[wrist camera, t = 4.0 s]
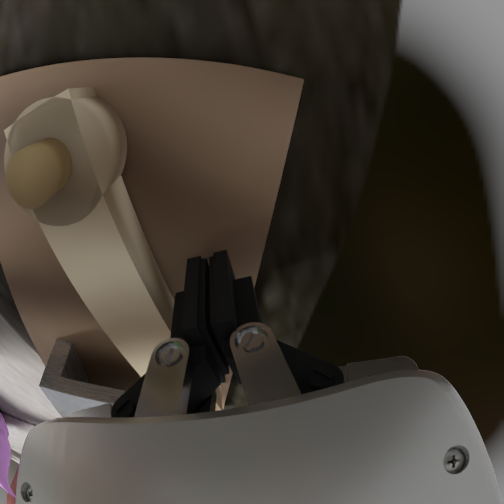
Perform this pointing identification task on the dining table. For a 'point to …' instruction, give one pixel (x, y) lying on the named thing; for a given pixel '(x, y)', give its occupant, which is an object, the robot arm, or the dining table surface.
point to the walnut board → (156, 183)
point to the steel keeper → (72, 382)
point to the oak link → (91, 216)
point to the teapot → (4, 456)
